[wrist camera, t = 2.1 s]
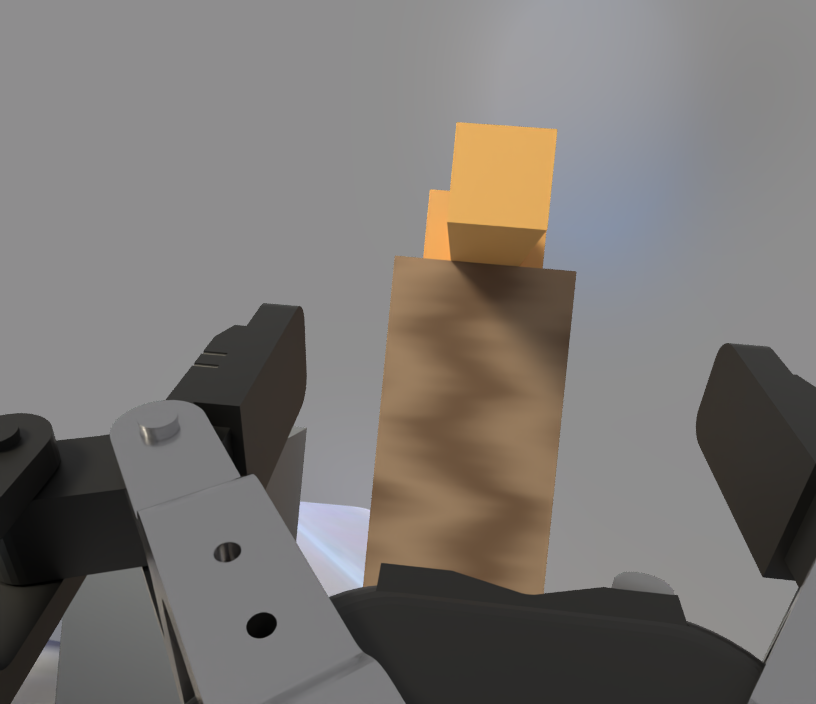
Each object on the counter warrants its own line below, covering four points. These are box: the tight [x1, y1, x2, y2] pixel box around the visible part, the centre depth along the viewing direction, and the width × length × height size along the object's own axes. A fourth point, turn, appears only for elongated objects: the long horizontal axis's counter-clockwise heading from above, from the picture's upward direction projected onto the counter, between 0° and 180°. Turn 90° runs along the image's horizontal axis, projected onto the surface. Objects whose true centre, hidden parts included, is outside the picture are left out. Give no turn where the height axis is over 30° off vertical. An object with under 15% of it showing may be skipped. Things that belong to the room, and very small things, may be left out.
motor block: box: [55, 427, 307, 704], centre depth 36 cm, size 8×12×22 cm, turn 175°
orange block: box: [424, 122, 557, 269], centre depth 28 cm, size 6×19×4 cm, turn 175°
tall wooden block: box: [363, 256, 576, 595], centre depth 34 cm, size 8×12×32 cm, turn 175°
